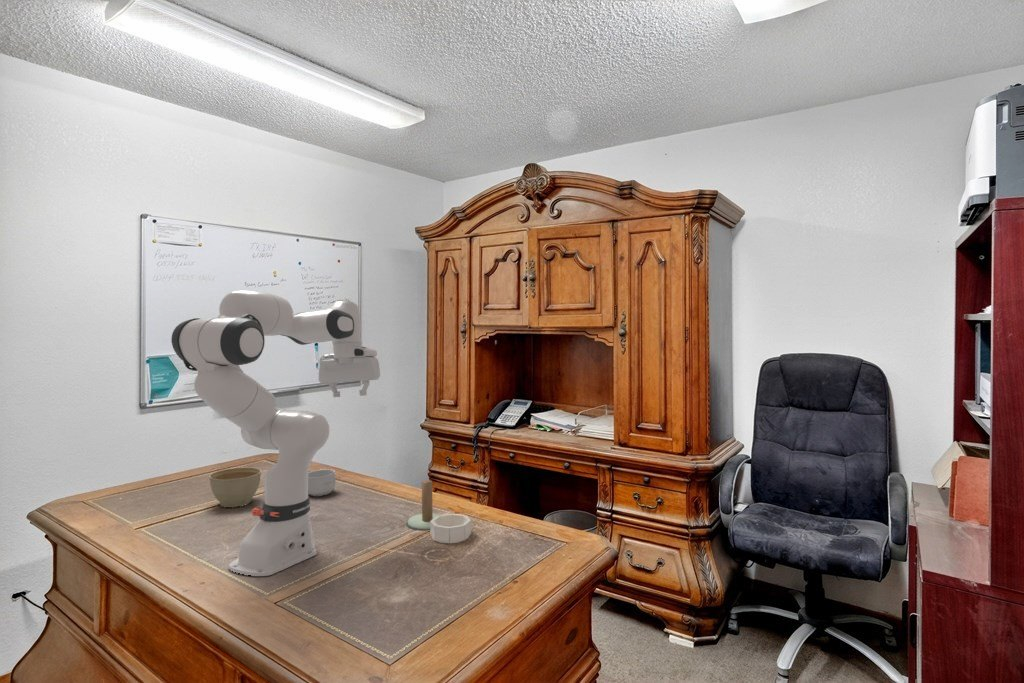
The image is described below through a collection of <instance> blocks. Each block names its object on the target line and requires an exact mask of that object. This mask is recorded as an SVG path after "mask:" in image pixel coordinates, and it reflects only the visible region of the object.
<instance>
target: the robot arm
mask: <svg viewBox="0 0 1024 683" xmlns="http://www.w3.org/2000/svg"><path fill="white" fill-rule="evenodd" d="M218 310H219V312H218V313H219V315H218V316H217V317H207V318H206V317H205V318H200V317H199V318H198V317H197V318H192V319H187V320H185V321H183V322H180V323H179V324H178V325H177V326H176V327H175V328H174V329H173V331H172V333H171V338H170V339H171V341H170V342H171V345H172V349H173V351H174V353H175V354H176V355H177V357H178V358H179V359H180V360H181V361H182V362H183V364H184V366H185V367H186V369H188V370H189V371H195V372H197V375H196V377H195V379H194V384H193V385H194V387H193V388H194V391H195V393H196V395H197V396H198V397H199V398H200V399H201V400H202V401H203V402H204V403H205V404H206V405H207V406H208V407H210V408H211V409H212V410H213V411H215V412H216V413H217V414H219V415H220V416H222V417H224V418H225V419H226V420H228V421H230V422H231V423H233V424H234V425H236V426H237V427H239V428H240V434H241V437H242V439H243V442H244V443H246V444H248V445H250V446H254V447H256V448H259V449H264V450H271V451H272V450H274V451H275V450H276V451H278V457H277V462H276V464H274V465H272V466H271V467H269V468H268V469H267V471H266V472H265V474H264V478H263V480H264V481H263V484H264V486H263V488H264V502H263V503H262V506H261V508H259V507H254V508H253V509H252V510H251V515H252V516H253V517H259V519H258V521H257V522H255V525H254V526H253V527H252V528H251V529H250V531H249V532H248V533H247V535H245V537H244V538H243V539H242V540H241V542H240V545H239V548H238V550H239V551H238V557H237V558H236V559H234V560H233V561H231V562H230V563H229V564H228V569H230V570H229V571H231V572H232V571H233V573H235V572H236V573H235V574H238V573H240V574H239V575H242V574H244V576H248V575H251V577H267V576H271V575H274V574H277V573H279V572H280V571H283V570H286V569H287V568H290V567H292V566H294V565H297V564H298V563H302V562H303V561H306V560H307V559H310V558H313V557H314V556H317V554H318V552H317V548H316V544H315V541H314V533H313V526H312V521H311V517H310V511H311V500H310V496H309V493H308V472H310V465H311V463H312V460H313V458H314V456H316V454H317V452H318V451H319V450H321V449H322V448H323V447H324V446H325V444H326V443H327V442H328V440H329V436H330V424H329V422H328V420H327V418H326V417H325V416H323V415H321V414H320V413H319V414H318V413H315V412H313V411H309V410H295V409H293V410H292V409H284V408H282V407H278V406H276V405H277V401H276V396H275V395H274V394H273V392H271V391H270V390H268V389H266V387H265V386H263V385H262V384H260V383H259V382H257V381H256V380H255V379H254V378H252V377H251V376H250V375H248V374H247V373H245V372H244V370H242V367H240V366H243V365H248V364H251V363H253V362H256V361H257V360H258V359H259V358H260V356H261V355H262V353H263V351H264V348H265V340H266V338H265V336H266V337H268V336H269V337H271V336H272V337H273V336H274V337H275V336H283V337H286V338H288V339H290V340H291V341H293V342H294V343H295V344H298V345H302V346H305V345H309V344H316V343H317V344H318V343H326V342H332V350H333V351H332V352H333V353H330V354H324V355H322V356H321V357H320V358H319V360H318V361H319V362H318V363H319V369H318V381H319V383H320V384H329V386H328V387H329V388H330V390H331V392H332V397H333V398H340V397H341V391H338V389H337V386H338V383H349V382H350V383H351V382H361V384H362V385H363V386H362V388H361V389H359V396H360V397H361V396H365V397H366V396H367V395H368V394H367V390H368V388H369V386H370V381H376V380H379V378H380V376H381V369H380V362H379V359H378V358H377V355H378V352H377V350H376V349H374V348H373V349H372V348H369V347H365V346H363V341H362V338H361V332H362V322H361V314H360V313H361V312H360V309H359V307H358V305H357V303H355V302H353V301H348V300H338V301H335V302H333V305H332V306H330V307H329V308H326V309H321V310H314V311H303V312H302V311H301V312H296V313H294V310H293V307H292V305H291V303H290V302H289V301H288V300H287V299H285V298H284V297H282V296H278V295H276V294H272V293H268V292H265V291H264V292H263V291H257V290H233V291H230V292H229V293H227V294H226V295H224V297H223V298H222V300H221V301H220V304H219V308H218Z"/></svg>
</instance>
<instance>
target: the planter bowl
mask: <svg viewBox="0 0 1024 683" xmlns="http://www.w3.org/2000/svg"><path fill="white" fill-rule="evenodd" d="M261 476H262V470H261V469H260V468H257V467H232V468H226V469H221V470H218V471H215V472H213V473H211V474H209V476H208V477H209V481H210V490H211V492H212V494H213V495H214V497H215V499H216V500H217V501H218V502H219V504H220V505H219V506H220V507H222V506H224V507H223V508H226V507H232V508H234V507H235V508H237V507H236V506H240V507H243V506H242V505H244V506H246V505H245V504H247V505H248V503H249V502H250V503H251V502H252V499H253V498H254V495H255V494H256V492H257V491H258V488H259V485H260V483H261ZM250 503H249V504H250Z"/></svg>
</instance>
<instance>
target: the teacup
mask: <svg viewBox="0 0 1024 683" xmlns="http://www.w3.org/2000/svg"><path fill="white" fill-rule="evenodd" d="M335 487H336V471H335V469H332V468H329V469H328V468H321V469H316V470H312V471H309V472H308V495H310V496H312V495H313V497H323V495H324V496H327V495H329V494H330V493H332V491H333V490H334V489H335Z"/></svg>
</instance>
